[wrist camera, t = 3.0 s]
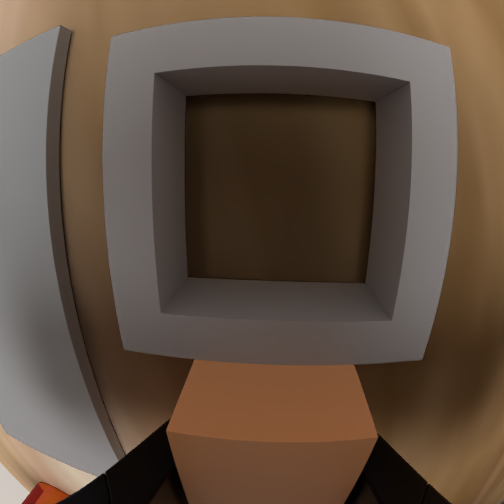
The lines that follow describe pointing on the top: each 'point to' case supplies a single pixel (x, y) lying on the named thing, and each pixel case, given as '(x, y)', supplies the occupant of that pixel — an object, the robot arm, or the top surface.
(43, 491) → the coffee cup
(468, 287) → the top surface
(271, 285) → the square frame with handle
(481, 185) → the top surface
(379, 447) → the robot arm
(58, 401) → the keeper
